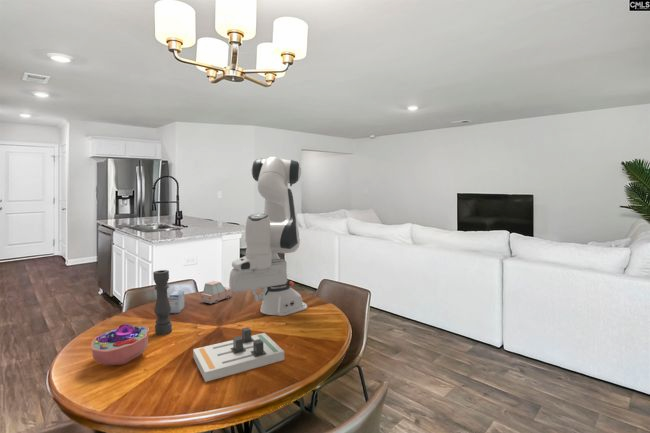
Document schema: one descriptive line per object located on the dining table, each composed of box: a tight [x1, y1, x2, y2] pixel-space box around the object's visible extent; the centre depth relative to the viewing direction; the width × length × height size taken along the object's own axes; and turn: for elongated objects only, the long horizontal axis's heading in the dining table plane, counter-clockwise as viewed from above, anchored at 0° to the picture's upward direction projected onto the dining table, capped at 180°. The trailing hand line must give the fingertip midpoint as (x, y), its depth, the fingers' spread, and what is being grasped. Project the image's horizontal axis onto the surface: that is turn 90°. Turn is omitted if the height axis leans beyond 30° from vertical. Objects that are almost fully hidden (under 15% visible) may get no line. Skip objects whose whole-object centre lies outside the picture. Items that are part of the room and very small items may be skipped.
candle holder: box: [152, 269, 173, 336], centre depth 141 cm, size 6×6×25 cm
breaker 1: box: [241, 327, 254, 343], centre depth 127 cm, size 4×4×4 cm
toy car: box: [200, 280, 233, 305], centre depth 183 cm, size 9×15×10 cm, turn 150°
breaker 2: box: [251, 339, 266, 357], centre depth 117 cm, size 4×4×4 cm
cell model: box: [90, 323, 150, 367], centre depth 119 cm, size 17×20×11 cm
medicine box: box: [168, 290, 185, 314], centre depth 168 cm, size 8×4×9 cm, turn 5°
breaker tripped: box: [231, 335, 246, 353], centre depth 119 cm, size 4×4×4 cm
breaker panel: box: [192, 332, 285, 383], centre depth 120 cm, size 26×18×3 cm
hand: (259, 300), depth 122 cm, fingers closed
